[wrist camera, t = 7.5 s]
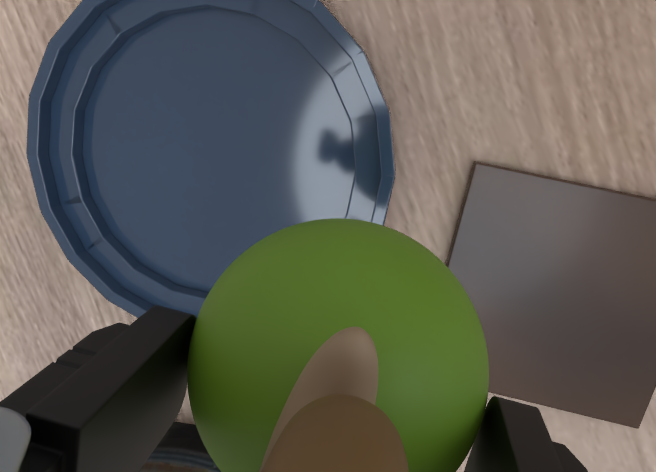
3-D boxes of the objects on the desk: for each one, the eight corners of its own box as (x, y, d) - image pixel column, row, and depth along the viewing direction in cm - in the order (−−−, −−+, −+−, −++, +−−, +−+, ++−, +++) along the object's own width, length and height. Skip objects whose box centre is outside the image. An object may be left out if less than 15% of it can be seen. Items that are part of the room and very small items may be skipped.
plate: (66, -62, 25) (35, -77, 23) (433, 7, 24) (436, -2, 21) (47, 280, 30) (19, 294, 27) (353, 355, 28) (348, 376, 26)
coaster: (473, 160, 25) (475, 162, 24) (718, 212, 24) (726, 215, 23) (417, 369, 28) (417, 375, 27) (633, 422, 27) (638, 429, 26)
